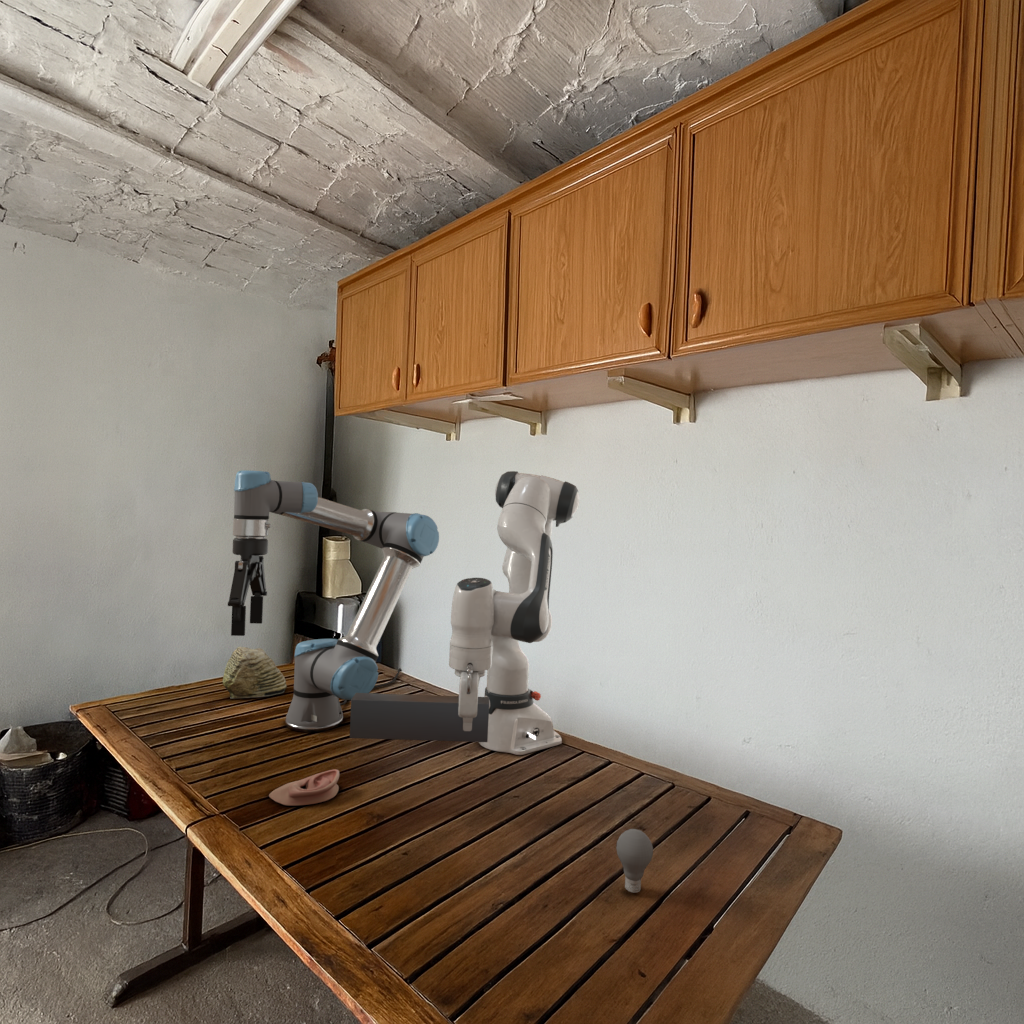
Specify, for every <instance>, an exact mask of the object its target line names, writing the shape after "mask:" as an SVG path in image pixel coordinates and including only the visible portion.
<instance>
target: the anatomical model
mask: <svg viewBox="0 0 1024 1024" xmlns="http://www.w3.org/2000/svg"><path fill="white" fill-rule="evenodd" d="M339 780H340V770H339V769H336V768H335V769H334V768H333V769H330V770H325V771H321V772H319V773H316V774H313V775H310V776H307V777H305V778H302V779H299V780H295V781H292V782H288V783H286V784H283V785H281V786H279V787H277V788H275V789H273V791H270V793H269V794H268V797H269V798H270V799H271V800H273V802H275V803H278V804H280V805H283V806H288V807H289V806H290V807H291V806H293V807H295V806H296V807H297V806H306V805H314V804H318V803H322V802H326V801H329V800H331V799H333V798H334V797H335V796H336V795H337V794H338V793H339V789H340V787H339V784H337V783H338V782H339Z"/></svg>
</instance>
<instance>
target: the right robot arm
mask: <svg viewBox="0 0 1024 1024" xmlns="http://www.w3.org/2000/svg"><path fill="white" fill-rule="evenodd" d="M494 493H495V496H494V497H495V503H496V504H497V505H498V507H500V508H501V511H500V514H499V516H498V520H497V524H496V525H497V528H496V529H497V535H498V537H499V539H500V541H501V542H502V543H503V545H505V547H506V550H505V554H504V558H503V562H502V565H501V566H502V573H503V575H504V576H505V577H506V578H507V581H508V592H505V591H499V590H497V589H494V587H493V583H492V581H491V580H490V579H487V578H484V577H469V578H468V577H467V578H464V579H461V580H460V581H458V582H457V583H456V584H455V587H454V590H453V596H452V603H451V612H450V613H451V614H450V625H451V632H452V633H451V637H450V640H449V654H448V655H449V657H448V667H449V668H451V669H452V670H454V675H455V676H457V677H458V678H459V688H458V696H459V704H458V715H459V717H463V730H464V731H471V730H472V720H473V718H475V717H476V716H477V706H478V697H479V685H480V681H481V678H483V677H485V675H486V687H485V688H484V696H483V697H489V719H488V741H487V742H478V744H479V745H480V746H481V747H482V748H485V749H487V750H489V751H494V752H500V753H509V754H513V755H517V756H523V755H527V754H530V753H534V752H538V751H541V750H545V749H548V748H552V747H555V746H559V745H561V744H563V739H562V736H561V735H560V734H559V733H558V732H556V730H555V729H554V723H553V719H552V717H551V716H550V715H549V714H548V713H547V712H546V711H545V710H543V709H542V708H541V707H540V706H539V705H537V703H535V702H534V700H535V701H540V699H541V698H542V695H541V693H540V692H538V691H535V690H532V689H530V688H529V675H530V662H529V658H528V656H527V655H526V653H525V652H524V651H523V649H522V648H521V645H520V643H519V642H521V643H526V644H532V643H539V642H542V641H544V640H545V639H546V638H547V637H548V635H550V632H551V631H552V627H553V615H552V612H551V610H550V591H551V581H552V570H553V557H554V556H553V555H554V552H553V551H554V550H553V543H552V534H553V533H552V532H553V522H555V527H556V528H559V527H560V525H561V524H565V523H567V522H568V521H570V520H571V519H572V518H574V515H575V514H576V512H577V511H578V508H579V505H580V495H579V489H578V487H577V486H576V485H575V484H573V483H571V482H568V481H566V480H565V481H562V480H559V479H556V478H553V477H550V476H546V475H542V474H541V475H539V474H532V473H524V472H519V471H514V470H509V471H505V472H504V473H502V474H501V476H500V477H499V479H498V480H497V483H496V484H495V491H494Z"/></svg>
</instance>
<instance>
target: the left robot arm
mask: <svg viewBox="0 0 1024 1024" xmlns="http://www.w3.org/2000/svg"><path fill="white" fill-rule="evenodd" d="M233 491H234V496H233V497H234V498H233V499H234V504H233V522H232V523H233V524H232V536H234V538H233V539H232V551H231V552H232V554H233V555H235V556H240V560H235V561H234V571H233V577H232V582H231V588H230V592H229V598H228V601H227V607H231V626H230V627H231V629H230V636H231V637H245V635H246V618H247V617H246V615H247V606H246V605H245V602H246V600H247V596H248V593H249V592H248V591H249V589H250V590H251V596H250V606H249V609H250V610H249V624H258V625H259V624H263V614H264V613H263V612H264V597H266V596H268V591H267V585H266V576H265V566H264V558H265V557H264V556H265V555H267V554H268V553H269V552H268V551H269V540H268V538H266V537H268V536H269V529H270V528H271V527H272V525H271V523H269V519H270V513H271V514H275V515H279V516H283V517H287V518H290V519H293V520H297V521H301V522H304V523H308V524H312V525H315V526H319V527H322V528H326V529H330V530H333V531H336V532H340V533H344V534H347V535H351V536H353V538H354V539H355V540H356V541H359V542H363V543H365V544H368V545H371V546H374V547H376V548H379V549H381V551H382V554H383V558H382V560H381V563H380V565H379V567H378V569H377V571H376V573H375V575H374V577H373V579H372V582H371V584H370V586H369V588H368V590H367V592H366V594H365V596H364V598H363V600H362V602H361V605H360V606H359V608H358V610H357V613H356V615H355V617H354V619H353V621H352V623H351V625H350V627H349V629H348V632H347V634H346V635H344V636H341V637H340V638H338V639H337V638H318V639H308V640H304V641H300V642H299V643H297V644H296V646H295V650H294V655H293V657H294V672H293V673H294V674H293V695H292V696H293V697H292V699H291V702H290V704H289V708H288V711H287V713H286V715H285V726H286V728H287V729H289V730H291V731H294V732H295V731H296V732H301V733H316V732H325V731H329V730H332V729H335V728H337V727H339V726H340V725H342V723H343V722H344V714H343V709H342V706H344V705H346V704H347V702H348V701H351V699H352V698H353V696H354V695H355V693H371V692H372V690H373V689H377V688H381V687H385V686H388V685H390V684H391V685H392V684H393V683H394V682H395V681H396V680H397V678H398V677H399V675H400V673H401V672H402V671H403V670H402V668H401V667H399V668H398V669H397V672H398V673H397V672H396V674H395V676H394V677H393V679H391V680H390V681H388V682H386V683H381V684H378V685H376V684H377V682H378V678H379V672H378V670H379V666H378V664H377V660H378V659H379V652H378V650H377V647H378V644H380V643H379V642H380V641H381V638H382V636H383V634H384V631H385V629H386V627H387V625H388V623H389V621H390V618H391V616H392V614H393V612H394V610H395V608H396V605H397V603H398V601H399V599H400V597H401V594H402V592H403V590H404V588H405V586H406V584H407V581H408V579H409V576H410V575H411V573H412V571H413V569H416V568H418V567H420V566H421V564H422V561H423V559H424V557H428V556H430V555H432V554H434V553H435V552H436V549H437V548H438V546H439V542H440V532H439V530H438V526H437V523H436V521H435V520H434V519H433V518H432V517H430V516H429V515H426V514H421V513H418V512H414V513H407V512H396V511H379V510H373V509H369V508H363V509H358V508H355V507H352V506H349V505H345V504H342V503H339V502H336V501H334V500H333V501H332V500H329V499H326V498H324V497H321V496H319V493H318V489H317V487H316V486H315V485H314V484H313V483H312V482H306V481H292V480H291V481H289V480H273V479H272V477H271V474H270V472H269V471H265V470H264V471H263V470H249V469H248V470H246V469H242V470H239V471H237V472H236V474H235V479H234V488H233ZM340 699H341V700H343V702H340Z"/></svg>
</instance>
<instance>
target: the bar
mask: <svg viewBox="0 0 1024 1024" xmlns="http://www.w3.org/2000/svg"><path fill="white" fill-rule="evenodd" d="M458 704H459V695H437V694H435V695H433V694H410V693H409V694H407V693H406V694H405V693H380V692H379V693H376V692H375V693H374V692H369V693H355V695H354V696H353V698H352V699H351V700H350V717H349V739H362V740H363V739H364V740H365V739H368V740H399V741H401V740H402V741H433V742H434V741H435V742H462V743H463V742H467V743H479V742H487V741H488V719H489V697H484V696H478V706H477V716H476V717H475V718H473V720H472V730H471V731H464V730H463V717H459V715H458Z"/></svg>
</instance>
